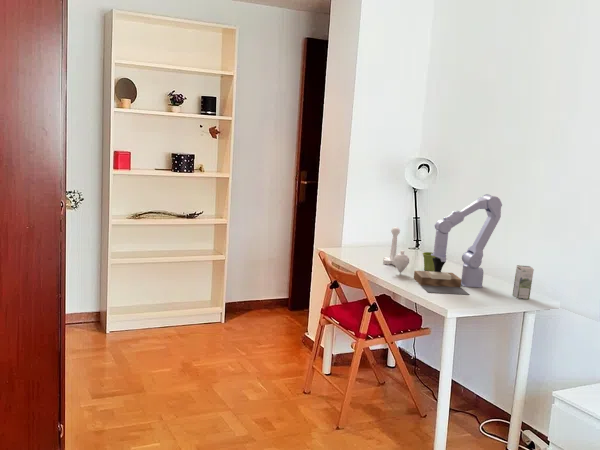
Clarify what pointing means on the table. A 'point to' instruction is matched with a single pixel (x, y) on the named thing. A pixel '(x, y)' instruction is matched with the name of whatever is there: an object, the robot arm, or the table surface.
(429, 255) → the plant pot
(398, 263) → the spinning top
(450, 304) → the table surface
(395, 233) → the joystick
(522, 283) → the syrup box
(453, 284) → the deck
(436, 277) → the card
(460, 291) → the mat
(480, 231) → the robot arm
